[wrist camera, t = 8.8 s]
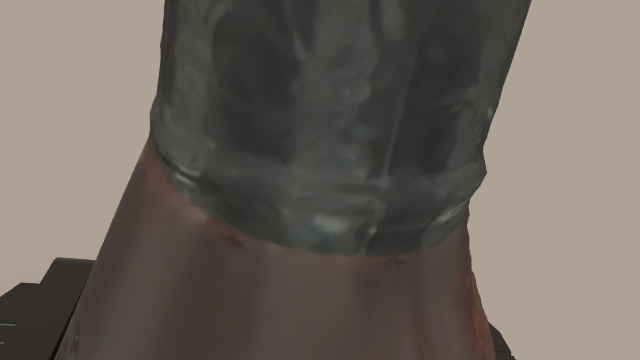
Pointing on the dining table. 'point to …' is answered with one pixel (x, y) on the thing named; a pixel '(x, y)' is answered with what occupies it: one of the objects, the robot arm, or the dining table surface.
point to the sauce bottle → (305, 186)
